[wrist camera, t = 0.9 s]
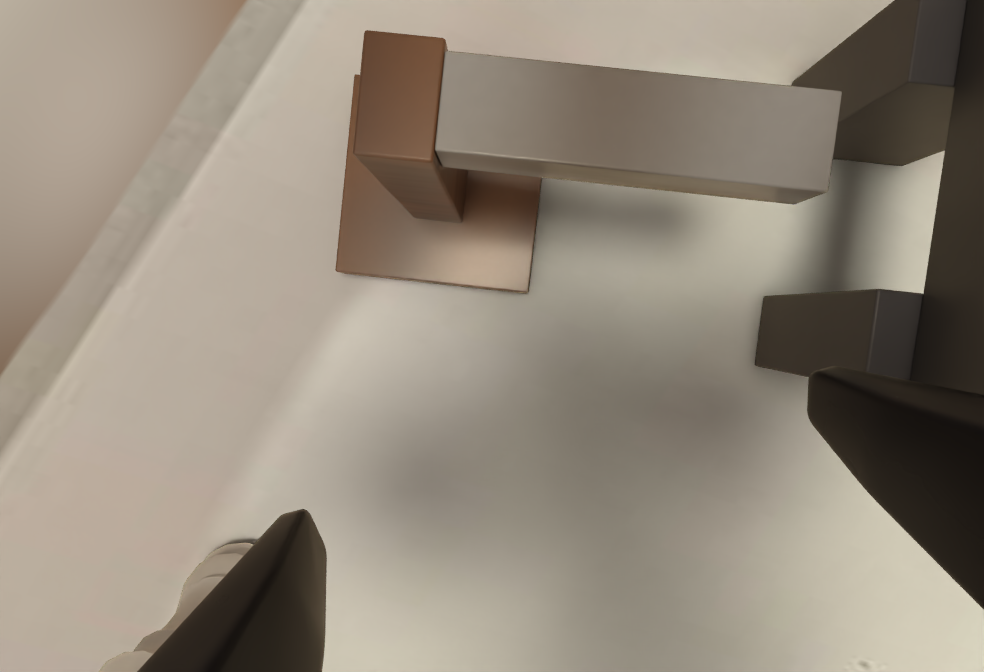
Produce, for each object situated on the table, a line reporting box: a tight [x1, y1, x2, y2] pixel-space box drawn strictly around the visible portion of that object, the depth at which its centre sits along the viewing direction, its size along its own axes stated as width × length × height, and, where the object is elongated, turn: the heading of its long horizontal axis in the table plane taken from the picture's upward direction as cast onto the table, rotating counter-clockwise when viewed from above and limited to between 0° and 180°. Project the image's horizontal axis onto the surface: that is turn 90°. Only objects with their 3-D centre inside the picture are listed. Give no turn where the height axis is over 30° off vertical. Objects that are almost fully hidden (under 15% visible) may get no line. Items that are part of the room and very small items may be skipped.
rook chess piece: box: [99, 543, 253, 672], centre depth 20 cm, size 4×4×8 cm
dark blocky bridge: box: [755, 0, 984, 395], centre depth 18 cm, size 12×5×10 cm, turn 174°
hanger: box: [336, 30, 842, 294], centre depth 18 cm, size 14×8×10 cm, turn 84°
